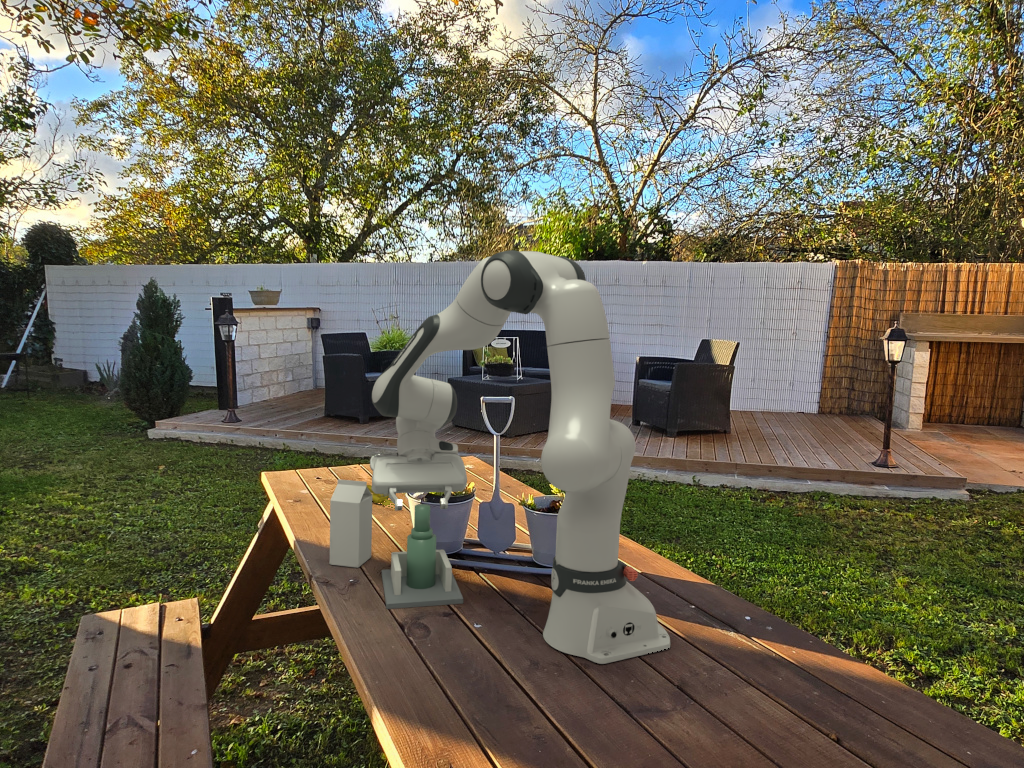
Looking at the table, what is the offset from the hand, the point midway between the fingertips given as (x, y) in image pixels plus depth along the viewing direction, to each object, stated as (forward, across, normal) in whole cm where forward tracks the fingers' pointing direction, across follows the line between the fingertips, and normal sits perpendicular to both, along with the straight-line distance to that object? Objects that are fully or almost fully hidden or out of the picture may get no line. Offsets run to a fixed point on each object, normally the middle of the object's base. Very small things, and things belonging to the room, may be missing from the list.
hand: (421, 508), depth 133 cm
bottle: (+12, 0, +11) cm, 16 cm away
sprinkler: (-34, -7, +59) cm, 69 cm away
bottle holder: (+12, 0, +12) cm, 17 cm away
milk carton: (0, -14, +25) cm, 28 cm away
